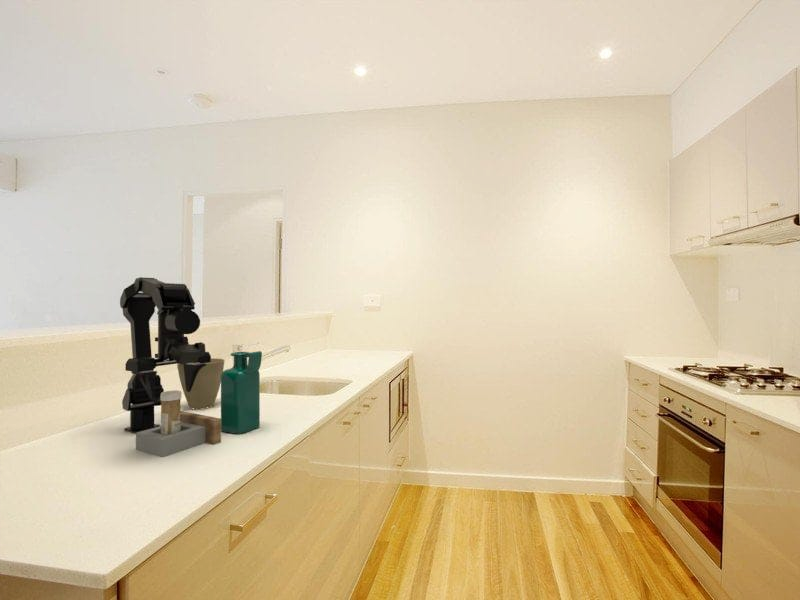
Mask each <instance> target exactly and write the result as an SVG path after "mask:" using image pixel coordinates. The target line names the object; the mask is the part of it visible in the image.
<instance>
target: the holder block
mask: <svg viewBox="0 0 800 600" xmlns="http://www.w3.org/2000/svg"><path fill="white" fill-rule="evenodd" d="M205 443H206V427H204V426H199V425H194V424H190V423H185V422H181V431H180V432H177V433H173V434H170V435H162V434H161V425H160V426H159V427H156V428H152V429H148V430H144V431H141V432H137V433H135V450H136V451H141V452H143V453H148V454H150V455H154V456H158V457H162V458H163V457H166V456H167V457H168V456H170V455H172V454H176V453H179V452H182V451H184V450H188V449H190V448H193V447H197V446H200V445H203V444H205Z"/></svg>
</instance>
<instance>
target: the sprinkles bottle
mask: <svg viewBox="0 0 800 600" xmlns="http://www.w3.org/2000/svg"><path fill="white" fill-rule="evenodd" d="M181 399H182V391H181V390H178V389H177V390H166V391H165V390H164V392H162V393H161V396H160V400H161V405H160V406H161V407H160V410H161V411H160V426H161V434H162V435H170V434H173V433H177V432H180V431H181V413H180V411H181Z"/></svg>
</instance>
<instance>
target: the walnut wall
mask: <svg viewBox="0 0 800 600" xmlns="http://www.w3.org/2000/svg"><path fill="white" fill-rule="evenodd" d="M180 413H181V422H185V423H190V424H194V425H199V426H204V427H206V443H207V444H211V445H217V444H220V443H221V442H222V431H221V417H220V418H219V417H214V416H210V415H204V414H198V413H193V412H188V411H184V410H180Z"/></svg>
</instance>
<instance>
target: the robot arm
mask: <svg viewBox="0 0 800 600" xmlns="http://www.w3.org/2000/svg"><path fill="white" fill-rule="evenodd" d="M119 305H120V308H121V310H122V315H123V317H124V318H125V319H126V320H127V321H128V322H129V324H130V338H131V339H130V340H131V351H132V352H131V353H132V354H131V356H132V357H129V358H128V359H127V360H126V361H125V369H124V370H125V371H126V372H130V373H131V374H132V375H131V376H130V379H129V380H128V382H127V384H126V386H127V388H126V391H125V392H124V396H123V398H122V400H121V401H122V402H121V404H122V410H124V411H127V412H129V413H130V414H129V419H130V420H129V421H130V422H129V426H127V427H124V429H125V430H124V429H123V430H124V431H127V432H130V431H131V432H130V433H135V434H136V433H137V432H141V431H144V430H148V429H152V428H156V427H159V426H161V424H157V423H156V424H155V407H158V406H161V400H160V396H161V393H162V392H165V389H164V387H163V385H162V382H161V381H162V380H161V376H160V375H159V374H158V371H157V370H155V369H156V368H157V367H163V366H169V365H175V364H176V365H177V364H181V365H184V375H185V386H186V391H187V392H190V391H191V389H192V386H193V383H194V381H195V378H196V376H197V374H198V372H199V370H200V369H201V368H202V367H204V366H206V365H207V364H203V363H208V362H211V358H212V355H211V354H210V352H209V351H206V344H205V343H204V342H201V341H200V342H195V343H194V344H190V343H189V338H188V336H185V335H191V334H194V333H196V332H197V330H199V328H200V326H201V319H200V317H199V314H198V313H196V312H195V311H194V310H195V305H196V303H195V301H194V298H193V297H192V294H191V291H190V290H189V288H188V286H187V284H186V283H173V282H172V283H171V282H169V283H168V282H164V281H160V280H158V278H154V277H136V278H135V279H134V282H133V283H132V284H130V285H129V286H127V287H125V288H124V289H123V291H122V294H121V296H120V297H119ZM156 308H157V312H155V311H156ZM155 313H156V314H157V315H158V316H157V337H154V342H157V353H154V357H152V343H151V342H152V340H151V329H150V328H151V327H150V326H151V325H150V320H151V319H152V317H153V315H154V314H155Z"/></svg>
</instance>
